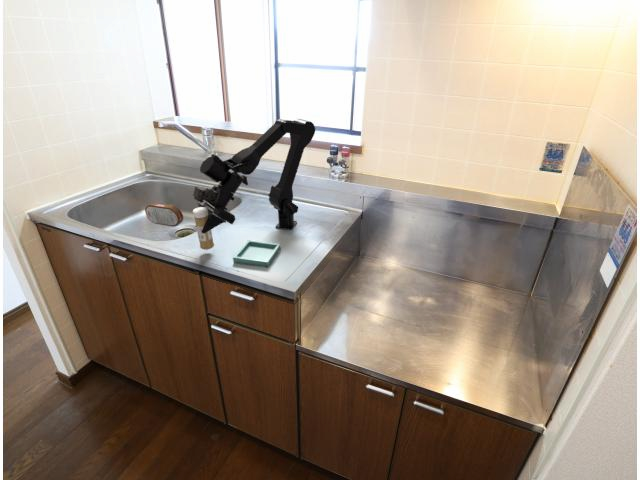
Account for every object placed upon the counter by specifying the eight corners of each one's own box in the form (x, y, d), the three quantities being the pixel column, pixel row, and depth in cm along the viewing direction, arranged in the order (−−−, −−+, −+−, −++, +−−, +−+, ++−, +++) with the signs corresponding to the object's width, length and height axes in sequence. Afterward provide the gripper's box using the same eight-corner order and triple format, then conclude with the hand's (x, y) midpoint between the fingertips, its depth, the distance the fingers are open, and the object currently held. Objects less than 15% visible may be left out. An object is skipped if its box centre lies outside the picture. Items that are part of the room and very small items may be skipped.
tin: (185, 225, 141) (181, 204, 137) (180, 228, 138) (176, 208, 134) (152, 220, 145) (147, 200, 141) (146, 223, 142) (141, 203, 138)
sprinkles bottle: (216, 246, 122) (210, 209, 115) (204, 251, 119) (196, 214, 113) (209, 241, 125) (203, 205, 118) (197, 246, 122) (189, 209, 116)
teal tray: (248, 245, 127) (248, 240, 126) (280, 249, 125) (280, 244, 124) (233, 262, 117) (232, 257, 116) (268, 267, 115) (267, 262, 114)
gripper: (194, 168, 119) (167, 209, 119) (220, 184, 106) (190, 230, 106) (220, 185, 127) (195, 224, 127) (247, 202, 114) (219, 245, 114)
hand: (199, 230), depth 118 cm, fingers closed on sprinkles bottle, 4 cm apart
